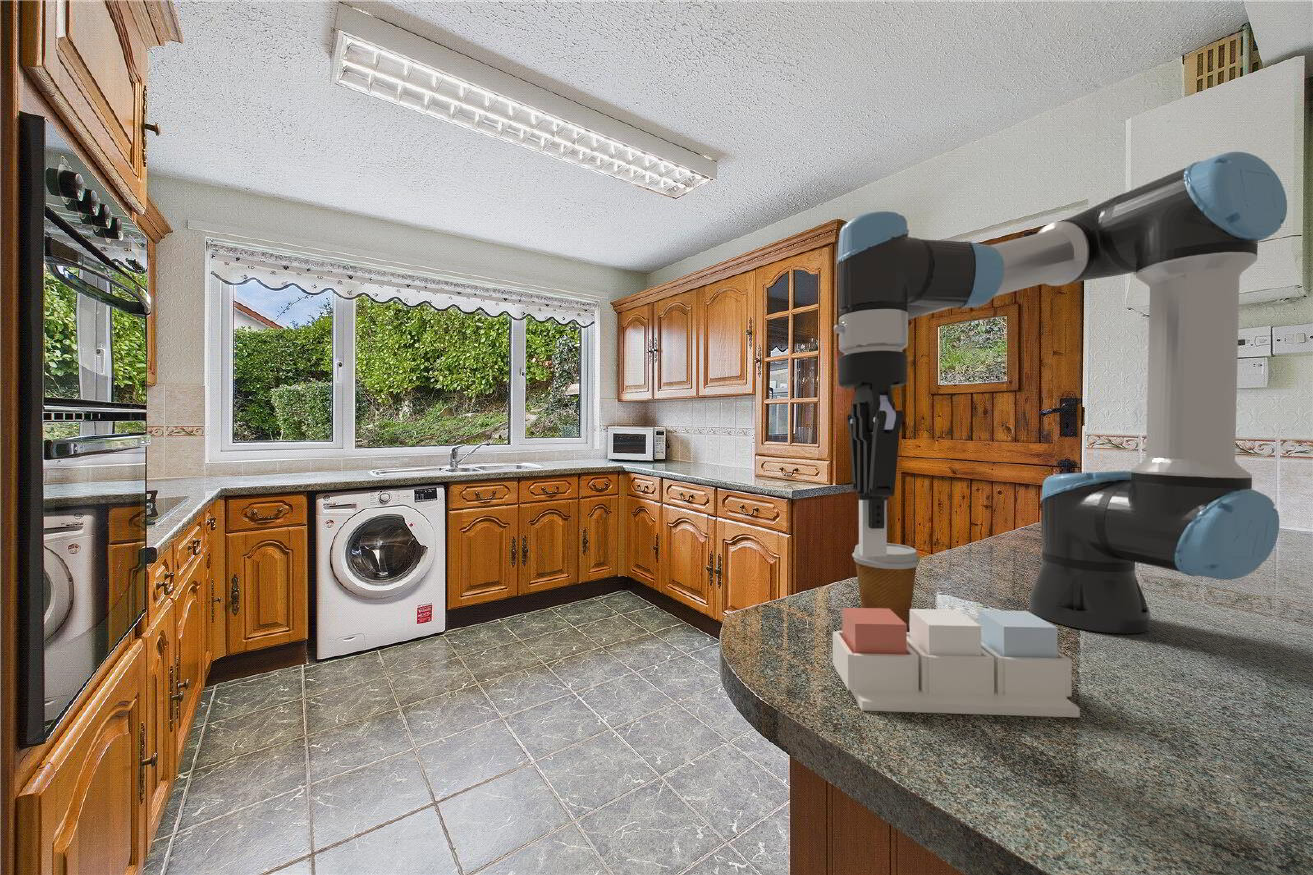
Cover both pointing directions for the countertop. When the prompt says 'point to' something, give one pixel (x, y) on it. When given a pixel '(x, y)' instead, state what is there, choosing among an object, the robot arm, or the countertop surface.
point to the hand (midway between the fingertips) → (872, 554)
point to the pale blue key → (1018, 634)
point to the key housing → (956, 682)
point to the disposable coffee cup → (888, 579)
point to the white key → (945, 632)
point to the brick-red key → (874, 631)
